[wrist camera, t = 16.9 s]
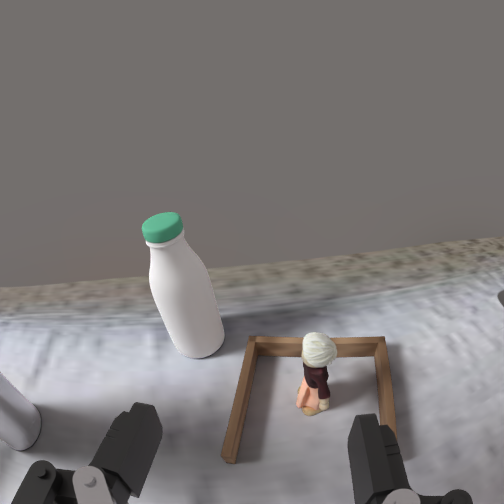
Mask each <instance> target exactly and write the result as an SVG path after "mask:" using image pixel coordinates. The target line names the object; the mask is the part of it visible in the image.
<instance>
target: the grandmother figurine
mask: <svg viewBox="0 0 504 504" xmlns="http://www.w3.org/2000/svg"><path fill="white" fill-rule="evenodd" d="M336 356H337V349H336V345H335V343H334V342H333V341H332V340H331V339H330V337H329V336H327V335H326V334H323V333H316V332H312V333H309V334H307V335H306V336H305V337H304V339H303V350H302V360H303V367H304V378H303V381H302V384H301V386H300V387H299V389H298V397H297V402H296V404H297V407H298V408H302V410H303V413H304V414H305V415H307V416H312V415H315V414H317V413H319V412H321V411H323V410H327V409H328V408H329V403H328V402H329V397H330V391H329V388H328V385H327V379H328V376H329V375H328V372H327V366H326V365H330V364H331V363H332V361H333V360H335V358H336Z"/></svg>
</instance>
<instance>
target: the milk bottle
mask: <svg viewBox="0 0 504 504" xmlns="http://www.w3.org/2000/svg"><path fill="white" fill-rule="evenodd" d="M142 231H143V235H144V238H145V239H146V244H147V245H148V246H150V250H151V265H150V272H149V281H150V287H151V291H152V294H153V297H154V300H155V302H156V305H157V307H158V310H159V312H160V314H161V317H162V319H163V321H164V323H165V326H166V328H167V330H168V332H169V334H170V337H171V339H172V341H173V343H174V345H175V347H176V349H177V350H178V351H179V352H180V353H181V354H182V355H184V356H186V357H189V358H204V357H207V356H210V355H212V354H213V353H215V352H216V351H217V350H218V349H219V348H220V347H221V345H222V343H223V341H224V337H225V333H224V328H223V324H222V321H221V317H220V313H219V310H218V306H217V302H216V299H215V295H214V292H213V288H212V284H211V281H210V278H209V275H208V272H207V270H206V267H205V266H204V264H203V262H202V261H201V259H200V258H199V257H198V256H197V255H196V253H195V252H194V251H193V250H192V249H191V248H190V247H189V245H188V244H187V242H186V241H185V239H184V236H183V235H184V233H185V232H184V229H183V224H182V220H181V217H180V216H179V214H177V213H173V212H166V213H161V214H157V215H155V216H153V217H151V218H149V219H147V220H146V221H145V222H144V223H143V225H142Z"/></svg>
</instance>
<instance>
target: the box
mask: <svg viewBox="0 0 504 504" xmlns="http://www.w3.org/2000/svg"><path fill="white" fill-rule="evenodd" d="M303 339H304V338H298V337H265V336H249V338H248V343H247V347H246V352H245V356H244V360H243V365H242V369H241V373H240V378H239V382H238V386H237V390H236V395H235V399H234V403H233V407H232V411H231V416H230V420H229V424H228V428H227V432H226V436H225V440H224V444H223V449H222V453H221V457H222V458H223V459H224V460H225V462H226V463H231V464H235V463H236V458H237V454H238V449H239V444H240V440H241V435H242V430H243V426H244V421H245V416H246V411H247V407H248V402H249V397H250V392H251V387H252V382H253V377H254V372H255V367H256V362H257V357H258V355H262V356H284V357H302V350H303ZM330 339H331V340H332V341H333V342H334V343H335V345H336V349H337V356H336V357H365V356H374V359H375V367H376V377H377V387H378V399H379V413H380V425H386V424H387V425H388V426H389V427H390V428H391V430H392V431H393V432H394V433H395V436H396V439H397V432H396V419H395V408H394V398H393V390H392V382H391V374H390V367H389V360H388V354H387V347H386V341H385V336H382V337H350V338H330Z"/></svg>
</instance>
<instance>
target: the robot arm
mask: <svg viewBox="0 0 504 504" xmlns="http://www.w3.org/2000/svg"><path fill="white" fill-rule="evenodd" d="M40 428H41V417H40V413H39V411H38V409H37V408H36V407H35V406H34V405H33V404H32V403H31V402H30V401H29V400H28V399H27V398H25V397H24V396H23V395H22V394H21V393H20V392H19V391H18V390H17V389H16V388H15V387H14V386H13V385H12V384H11V383H10V382H9V381H8V380H7V378H6V377H5V376H4V375H3V374H2V373H1V372H0V440H1V441H2V442H4V443H5V444H7V445H8V446H10V447H11V448H13V449H15V450H19V451H20V450H25V449H27V448H29V447H30V446H32V444H33V443H34V442H35V441H36V439H37V437H38V435H39V433H40ZM162 432H163V431H162V425H161V423H160V420H159V417H158V415H157V412H156V410H155V407H154V406H153V405H149V404H144V403H139V402H136V403H134V404H133V406H132V408H131V410H130V412H125V411H124V412H122V413H121V414H120V415H119V416H118V417H116V418H115V420H114V421H113V423H112V425H111V427H110V430H108V432H107V434H106V437H105V438H104V440H103V441H102V443H101V445H100V447H99V449H98V451H97V453H96V454H95V456H94V458H93V460H92V462H91V463H90V464H89V465H88V466H84V467H81V468H79V469H78V470H77V471H71V470H63V469H56V468H55V467H54V466H53V465H52V464H51V463H50V462H48V461H45V460H40V461H37V462H35V463H33V464H32V465H31V467H30V469H29V470H28V472H27V474H26V476H25V478H24V480H23V481H22V483H21V485H20V487H19V489H18V491H17V493H16V495H15V497H14V499H13V501H12V503H11V504H129V503H128V499H129V497H130V495H131V496H134V497H137V498H139V496H140V493H141V491H142V488H143V485H144V483H145V480H146V478H147V475H148V472H149V470H150V467H151V465H152V462H153V459H154V457H155V454H156V452H157V449H158V446H159V444H160V441H161V439H162ZM348 454H349V460H350V468H351V475H352V482H353V490H354V499H355V504H473V502H472V499H471V496H470V495H469V493H467V492H466V491H464V490H460V489H457V490H452V491H450V492H448V493H447V494H446V495H445V496H422V495H419V494H417V493H415V492H414V491H413V490H412V489H411V488H410V486H409V483H408V479H407V475H406V472H405V468H404V464H403V460H402V457H401V454H400V450H399V446H398V443H397V439H396V436H395V433H394V432H393V431H392V430H391V428H390V427H389V426H388V425H387V424H386V425H379V423H378V420H377V416H376V414H374V413H373V414H364V415H356V417H355V419H354V422H353V425H352V428H351V431H350V434H349V437H348Z"/></svg>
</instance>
